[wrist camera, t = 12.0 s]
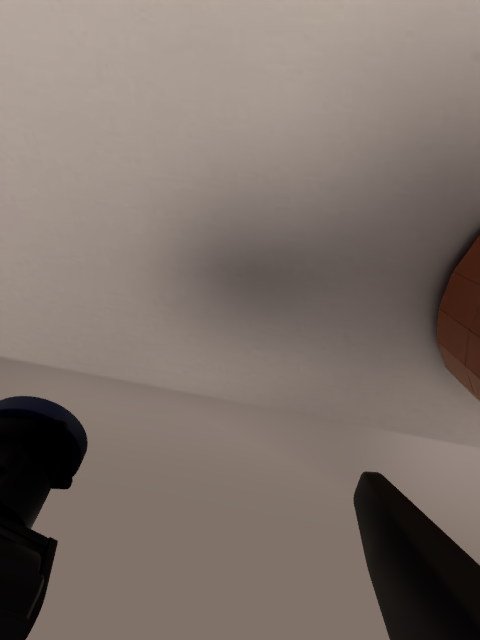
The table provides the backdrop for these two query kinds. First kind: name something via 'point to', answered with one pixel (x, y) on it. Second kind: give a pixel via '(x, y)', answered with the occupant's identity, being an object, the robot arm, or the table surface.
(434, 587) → the robot arm
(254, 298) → the table surface
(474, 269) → the bowl
